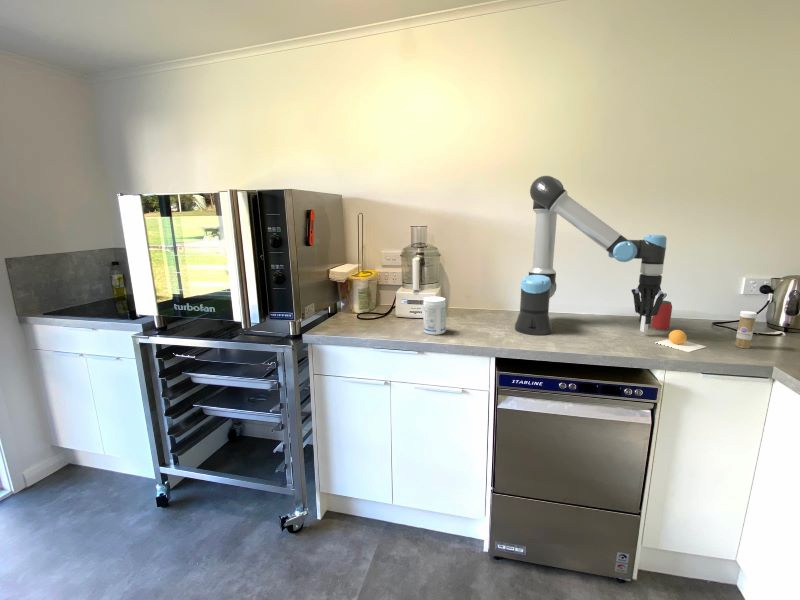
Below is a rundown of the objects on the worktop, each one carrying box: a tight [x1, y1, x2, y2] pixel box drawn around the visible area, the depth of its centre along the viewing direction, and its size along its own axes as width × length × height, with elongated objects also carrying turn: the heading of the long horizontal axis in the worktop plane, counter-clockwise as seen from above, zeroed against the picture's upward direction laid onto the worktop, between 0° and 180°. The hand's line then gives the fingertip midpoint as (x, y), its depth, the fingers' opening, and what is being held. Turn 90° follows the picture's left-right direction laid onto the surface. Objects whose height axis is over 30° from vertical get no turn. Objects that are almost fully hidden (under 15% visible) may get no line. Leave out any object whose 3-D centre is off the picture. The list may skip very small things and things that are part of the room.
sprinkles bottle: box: [734, 310, 758, 349], centre depth 143 cm, size 5×5×14 cm
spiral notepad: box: [654, 338, 707, 353], centre depth 147 cm, size 12×12×1 cm
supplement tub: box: [422, 296, 447, 336], centre depth 165 cm, size 10×10×15 cm
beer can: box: [651, 300, 673, 331], centre depth 168 cm, size 7×7×12 cm
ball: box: [668, 329, 687, 344], centre depth 147 cm, size 6×6×6 cm
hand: (643, 331), depth 159 cm, fingers closed
